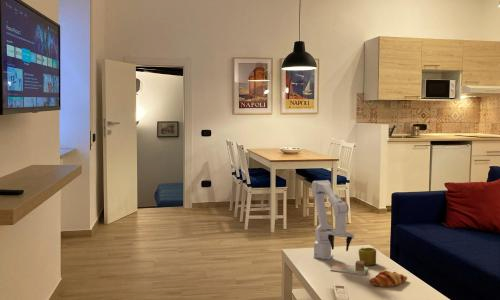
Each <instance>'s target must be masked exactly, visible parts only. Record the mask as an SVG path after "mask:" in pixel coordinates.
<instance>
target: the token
mask: <svg viewBox="0 0 500 300" xmlns="http://www.w3.org/2000/svg"><path fill="white" fill-rule="evenodd" d="M354 266H355V270H357V271H364V267H365V265H364V261H360V260H356V262H355V264H354Z"/></svg>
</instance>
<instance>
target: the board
mask: <svg viewBox="0 0 500 300" xmlns="http://www.w3.org/2000/svg"><path fill="white" fill-rule="evenodd" d="M368 270H369V266H368V267H367V266H364V271H357V270H355V265H351V264H345V263H344V264H343V263H337V262H334V263H333V265H332V267H331V268H330V272H337V273H345V274H351V275H359V276H366V275H367V272H368Z"/></svg>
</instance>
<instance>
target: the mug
mask: <svg viewBox="0 0 500 300" xmlns="http://www.w3.org/2000/svg"><path fill="white" fill-rule="evenodd" d="M358 258H359V261H364V266H373V265H376V263H377V249H376V248H374V247H364V246H363V247H361V248H359V249H358Z"/></svg>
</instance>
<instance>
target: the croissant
mask: <svg viewBox="0 0 500 300" xmlns="http://www.w3.org/2000/svg"><path fill="white" fill-rule="evenodd" d="M407 280H408V275H407V276H406V275H404V274H402V273H401V274H400V273H398V272H397V271H393V272H392V271H390V270H381V271H379V272H378V274H376V275H375V276H374V277H372V278H371V279H369V284H371V285H373V286H377V287H380V288H382V287H386V288H391V287H396V286H399V285H401V284H403V283H405V282H406V281H407Z"/></svg>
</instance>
